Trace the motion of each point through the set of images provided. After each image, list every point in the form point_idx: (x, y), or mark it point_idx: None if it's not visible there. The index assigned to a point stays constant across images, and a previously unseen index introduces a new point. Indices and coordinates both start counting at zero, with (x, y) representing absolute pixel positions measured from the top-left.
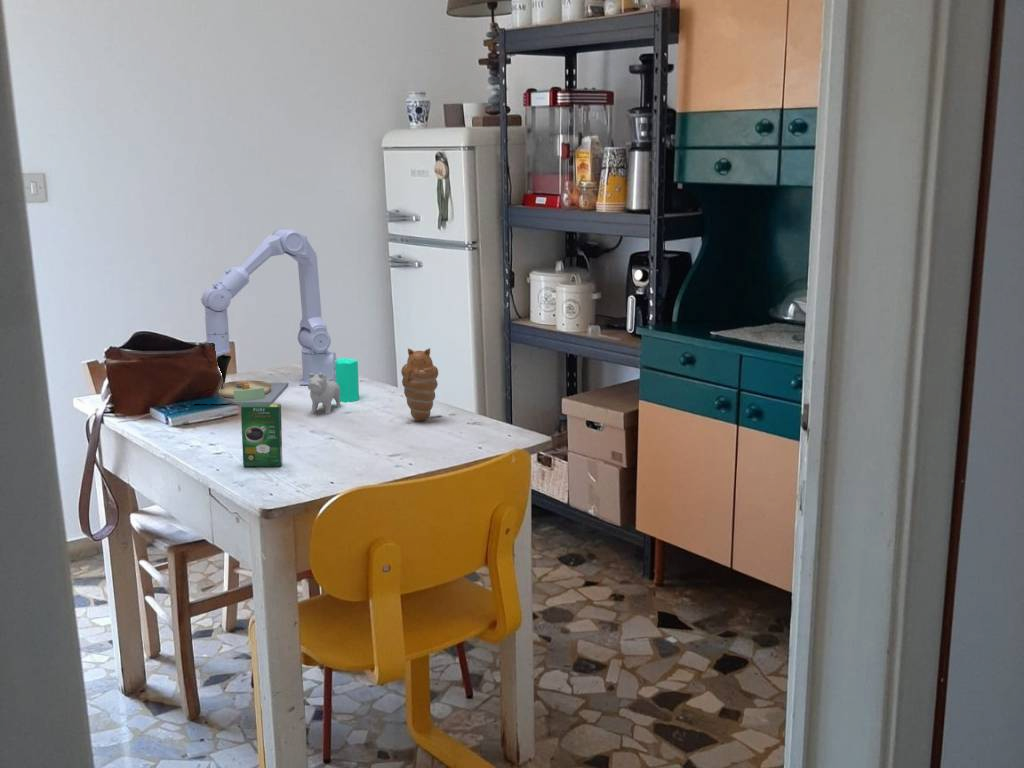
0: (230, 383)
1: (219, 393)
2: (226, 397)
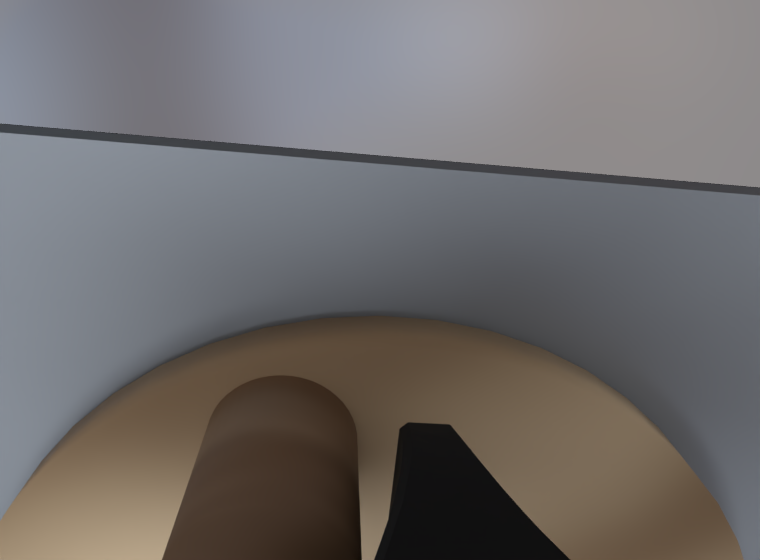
0: (608, 533)
1: (28, 481)
2: None
